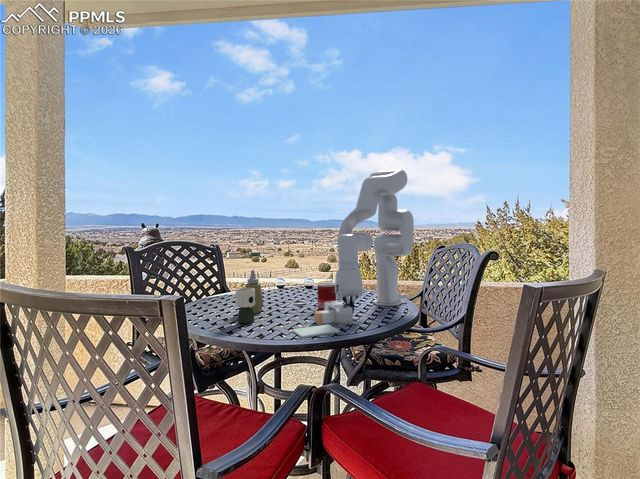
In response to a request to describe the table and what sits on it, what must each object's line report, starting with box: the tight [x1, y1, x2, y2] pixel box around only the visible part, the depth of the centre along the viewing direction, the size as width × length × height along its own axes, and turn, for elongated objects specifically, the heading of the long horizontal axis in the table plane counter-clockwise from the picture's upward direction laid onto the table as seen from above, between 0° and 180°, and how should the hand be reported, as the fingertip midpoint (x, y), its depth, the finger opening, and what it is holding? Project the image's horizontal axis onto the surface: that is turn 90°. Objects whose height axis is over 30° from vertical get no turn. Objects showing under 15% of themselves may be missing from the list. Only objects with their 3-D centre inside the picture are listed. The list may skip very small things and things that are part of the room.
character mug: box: [235, 287, 255, 325], centre depth 146 cm, size 11×7×13 cm, turn 171°
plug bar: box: [314, 309, 336, 325], centre depth 147 cm, size 12×4×4 cm, turn 112°
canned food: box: [317, 282, 337, 311], centre depth 167 cm, size 8×8×11 cm
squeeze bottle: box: [244, 269, 264, 315], centre depth 164 cm, size 8×8×18 cm
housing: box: [324, 300, 354, 326], centre depth 147 cm, size 5×14×6 cm, turn 24°
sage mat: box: [291, 323, 341, 339], centre depth 133 cm, size 14×9×1 cm, turn 114°
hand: (350, 312), depth 150 cm, fingers closed
